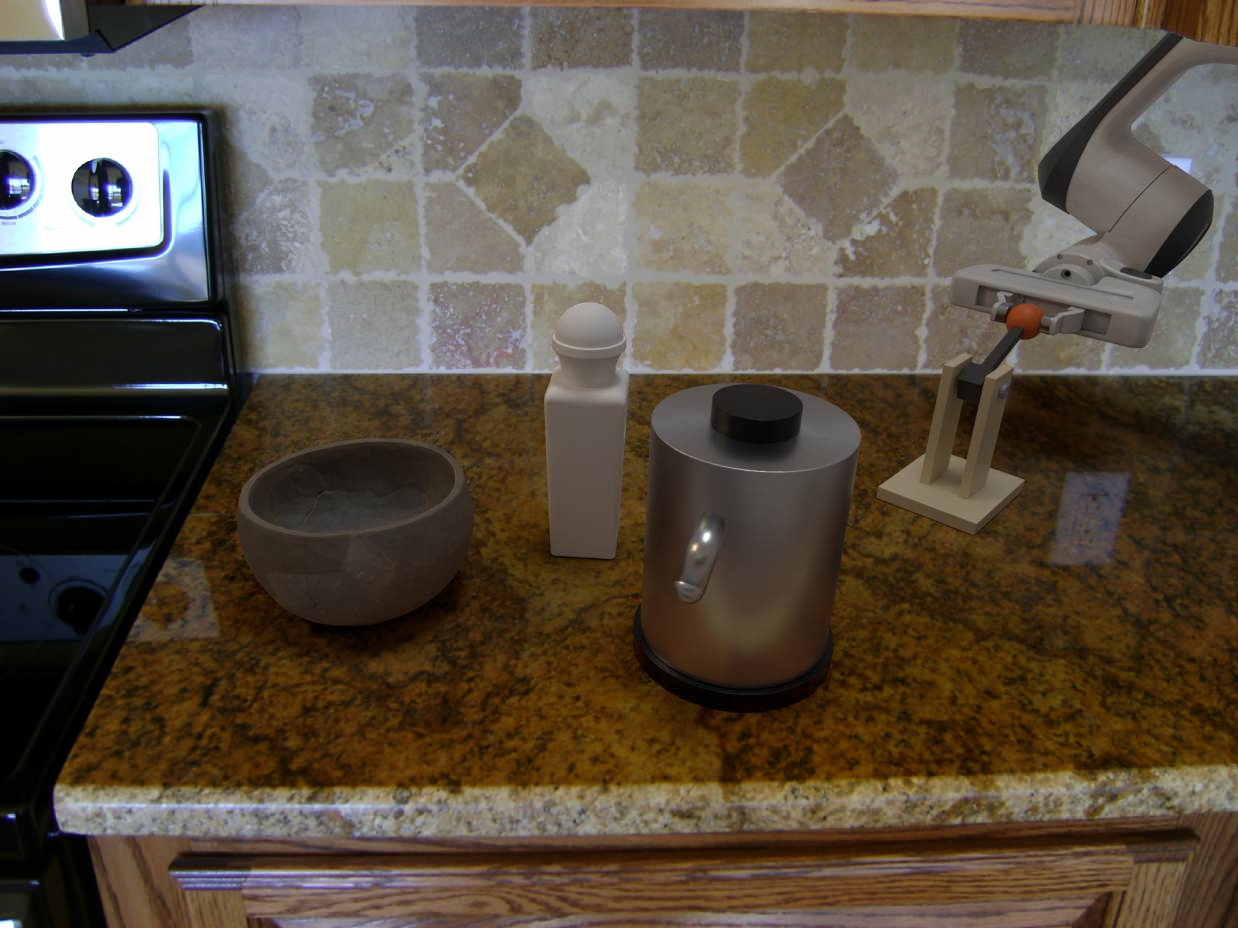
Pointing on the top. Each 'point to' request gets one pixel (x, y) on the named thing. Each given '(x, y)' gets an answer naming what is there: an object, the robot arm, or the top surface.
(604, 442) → the white square bottle
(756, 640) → the kettle
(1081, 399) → the top surface
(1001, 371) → the stand
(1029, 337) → the lever
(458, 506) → the bowl
